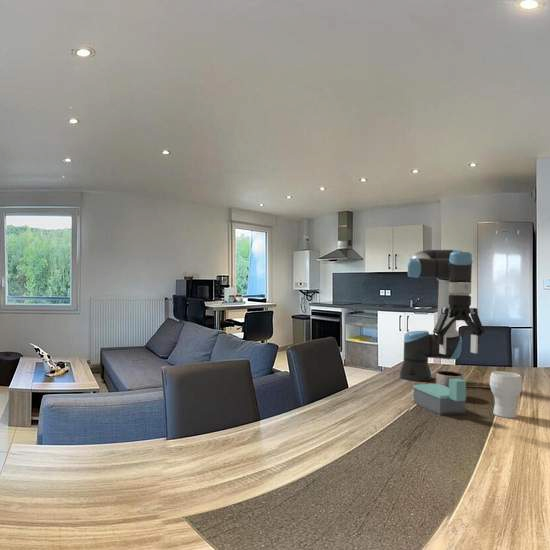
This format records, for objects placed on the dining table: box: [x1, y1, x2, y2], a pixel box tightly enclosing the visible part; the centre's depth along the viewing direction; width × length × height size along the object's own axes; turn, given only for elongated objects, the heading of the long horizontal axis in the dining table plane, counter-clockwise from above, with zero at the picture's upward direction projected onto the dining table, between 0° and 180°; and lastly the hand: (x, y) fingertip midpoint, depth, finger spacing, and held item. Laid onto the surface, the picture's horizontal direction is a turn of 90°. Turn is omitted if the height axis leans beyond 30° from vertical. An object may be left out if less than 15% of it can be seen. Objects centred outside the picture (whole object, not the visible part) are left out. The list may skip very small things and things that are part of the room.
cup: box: [489, 370, 523, 419], centre depth 163 cm, size 11×11×15 cm
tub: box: [413, 388, 466, 416], centre depth 170 cm, size 16×11×6 cm
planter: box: [435, 370, 464, 388], centre depth 188 cm, size 11×11×10 cm
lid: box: [412, 378, 468, 402], centre depth 168 cm, size 21×12×7 cm, turn 17°
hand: (458, 353), depth 160 cm, fingers open, 13 cm apart
